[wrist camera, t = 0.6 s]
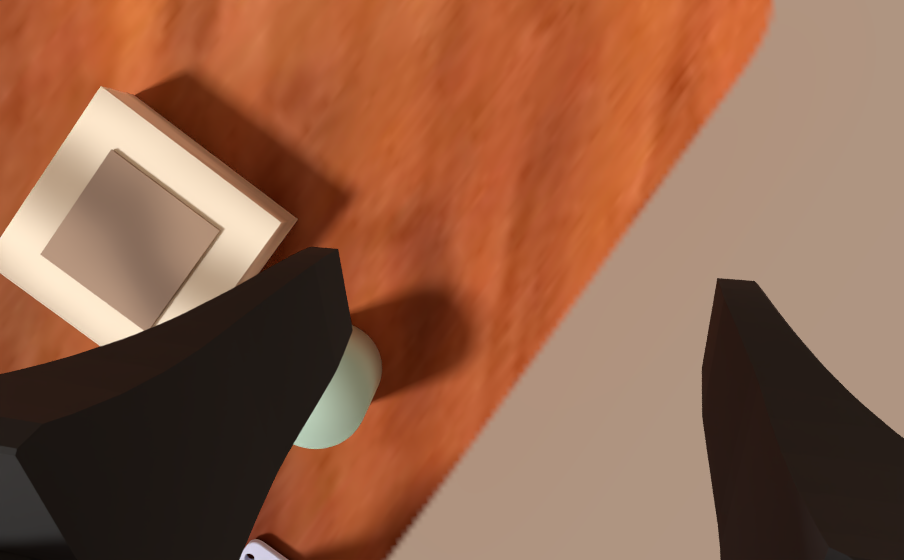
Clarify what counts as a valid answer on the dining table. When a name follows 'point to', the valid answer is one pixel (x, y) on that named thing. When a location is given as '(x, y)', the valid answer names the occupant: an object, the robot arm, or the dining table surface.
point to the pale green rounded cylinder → (345, 395)
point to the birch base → (136, 224)
